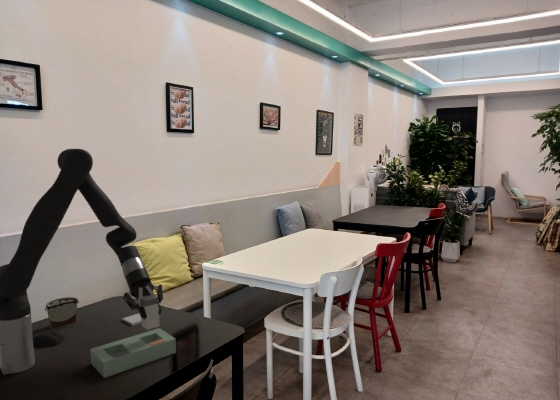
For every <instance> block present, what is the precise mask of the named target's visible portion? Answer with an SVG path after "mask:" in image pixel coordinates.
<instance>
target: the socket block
mask: <svg viewBox="0 0 560 400" xmlns="http://www.w3.org/2000/svg"><path fill="white" fill-rule="evenodd" d="M176 343H177V342H176V337H174V336H172V335H170V334H169V333H167V331H164V330H163V329H162V328H160V327H158V328H155V329H151V330H149V331H148V330H147V331H145V332H143V333H139V334H135V335H132V336H130V337H126V338H122V339H120V340H116V341H112V342H109V343H106V344H103V345H99V346H96V347H93V348H90V349H89V351H90V353H89V354H90V364H91V365H92V366H93V368H94V369H95V370H96V371H97V372H98V373H99V374H100V375H101V376H102V377H103V378H104V379H105V378H108V377H111V376H114V375H117V374H119V373H123V372H126V371H128V370H131V369H135V368H136V367H139V366H140V367H141V366H142V365H145V364H149V363H151V362H153V361H157V360H160V359H162V358H165V357H168V356H171V355H173V354H177V344H176Z"/></svg>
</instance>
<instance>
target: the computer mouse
mask: <svg viewBox="0 0 560 400" xmlns="http://www.w3.org/2000/svg"><path fill="white" fill-rule="evenodd" d="M64 339H65V336H64V335H63V334H62V333H60V332H59V331H57V330H54V329H53V330H51V329H46V330H42V331H40V332H39V333H37V334H35V335H34V336H33V345H34V347H53V346H58V345H59V344H60V343H61V342H62V341H64Z"/></svg>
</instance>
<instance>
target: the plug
mask: <svg viewBox="0 0 560 400" xmlns="http://www.w3.org/2000/svg"><path fill="white" fill-rule="evenodd" d="M141 302H142V307H144V310H145V312H146V314H147V318H146V319H143V318H141V323H140V324H141V327H142V328H144V329H145V330H147V331H148V330H153V329H154V328H155V329H156V328H157V327H158V328H159V327H161V326H160V317H159V306H158V297H157V296H154V295H148V296H144V297H143V298H141Z"/></svg>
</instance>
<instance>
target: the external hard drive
mask: <svg viewBox="0 0 560 400" xmlns="http://www.w3.org/2000/svg"><path fill="white" fill-rule="evenodd" d="M160 317H161V314H160V315H159V318H160ZM121 321H122V322H124V323H125V324H127V325H130V326H131V327H133V326H137V325H140V324H142V323H141V316H140V314H139V313H135V314H132V315H129V316H126V317H123V318H121Z"/></svg>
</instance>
